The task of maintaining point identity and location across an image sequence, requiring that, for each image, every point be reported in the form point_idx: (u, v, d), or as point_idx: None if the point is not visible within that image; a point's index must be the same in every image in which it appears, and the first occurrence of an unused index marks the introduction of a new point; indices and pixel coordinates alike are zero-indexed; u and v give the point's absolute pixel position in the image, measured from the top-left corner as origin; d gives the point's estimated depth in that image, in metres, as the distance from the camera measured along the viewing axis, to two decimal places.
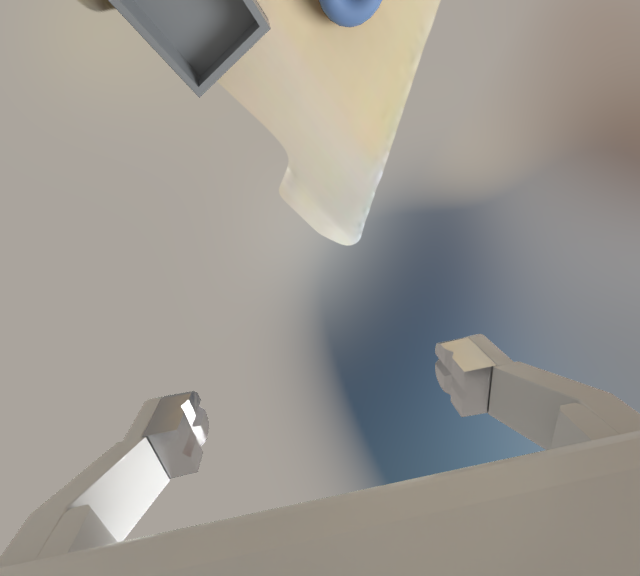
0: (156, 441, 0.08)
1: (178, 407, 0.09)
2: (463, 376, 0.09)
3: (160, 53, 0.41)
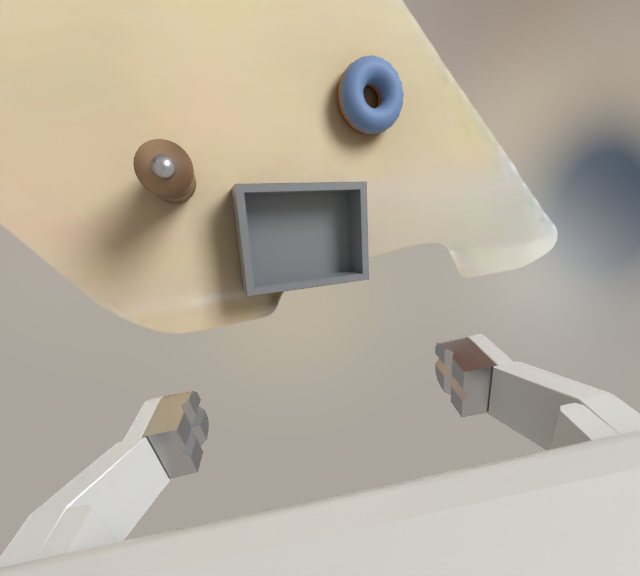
0: (156, 441, 0.08)
1: (178, 407, 0.09)
2: (463, 376, 0.09)
3: (328, 283, 0.43)
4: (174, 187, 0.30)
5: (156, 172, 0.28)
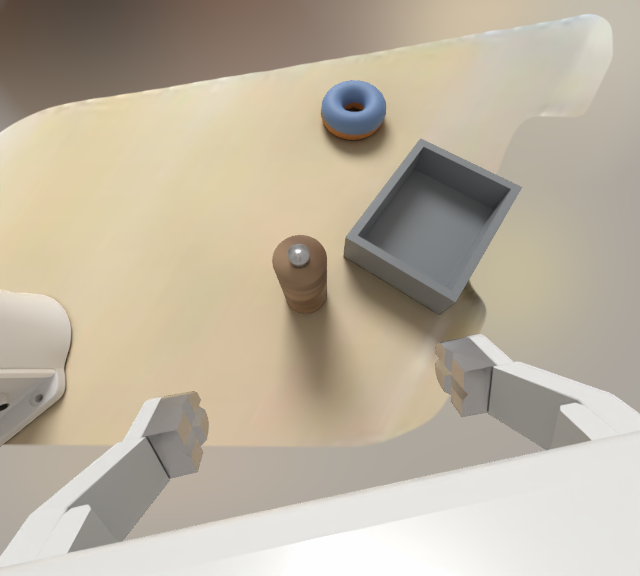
0: (156, 441, 0.08)
1: (178, 407, 0.09)
2: (463, 376, 0.09)
3: (497, 224, 0.36)
4: (318, 264, 0.29)
5: (299, 261, 0.28)
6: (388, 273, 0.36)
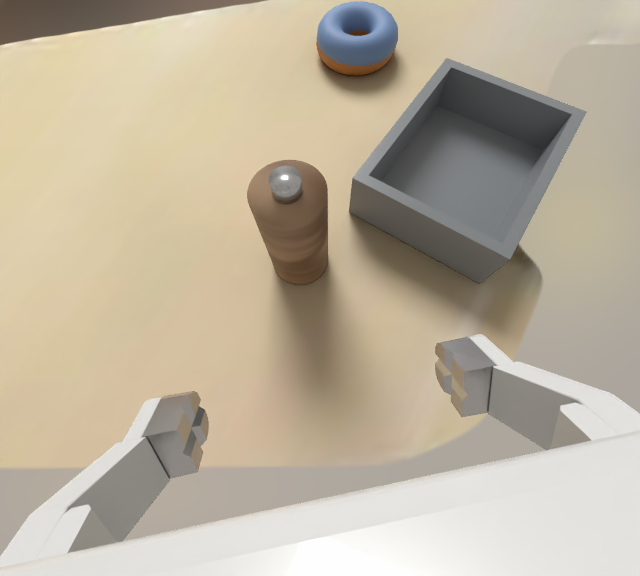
0: (156, 441, 0.08)
1: (178, 407, 0.09)
2: (463, 376, 0.09)
3: (559, 157, 0.26)
4: (315, 197, 0.19)
5: (286, 190, 0.18)
6: (410, 227, 0.27)
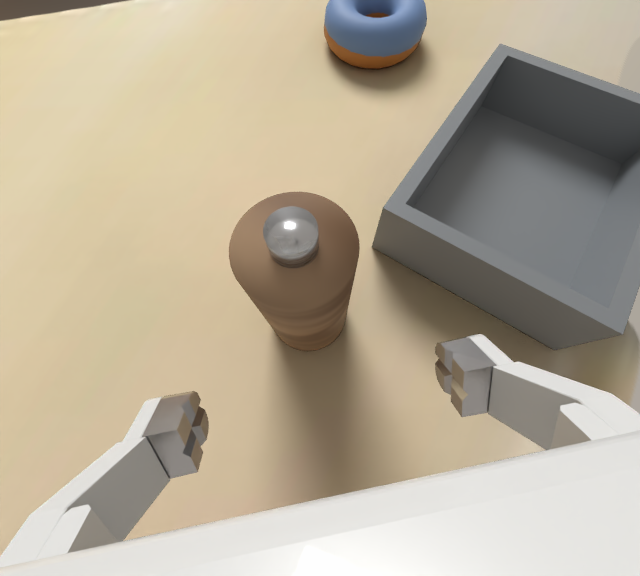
0: (156, 441, 0.08)
1: (178, 407, 0.09)
2: (463, 376, 0.09)
3: None
4: (340, 256, 0.12)
5: (293, 250, 0.11)
6: (462, 275, 0.19)
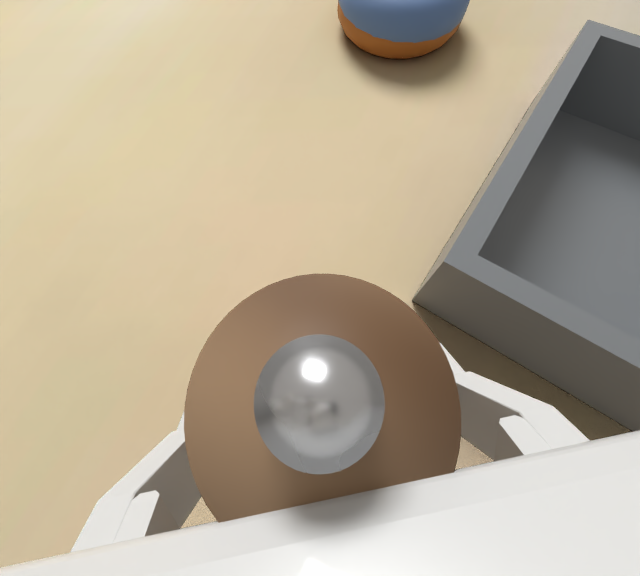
0: None
1: None
2: None
3: None
4: (422, 429, 0.06)
5: (327, 462, 0.04)
6: (558, 358, 0.13)
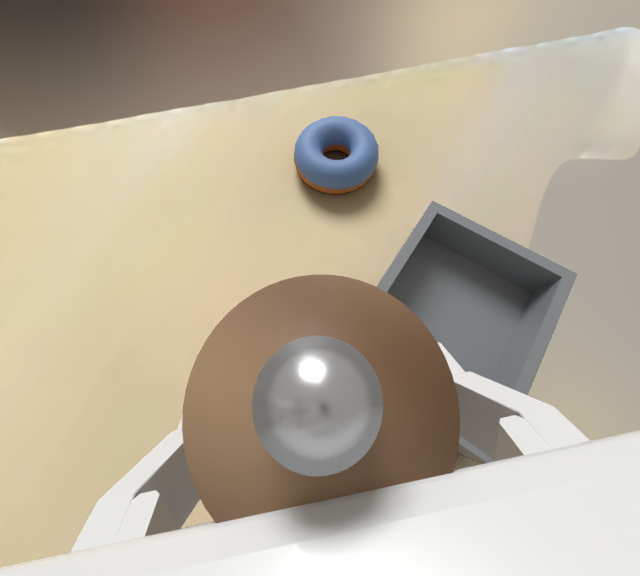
0: None
1: None
2: None
3: (548, 333, 0.25)
4: (421, 430, 0.06)
5: (325, 464, 0.04)
6: None
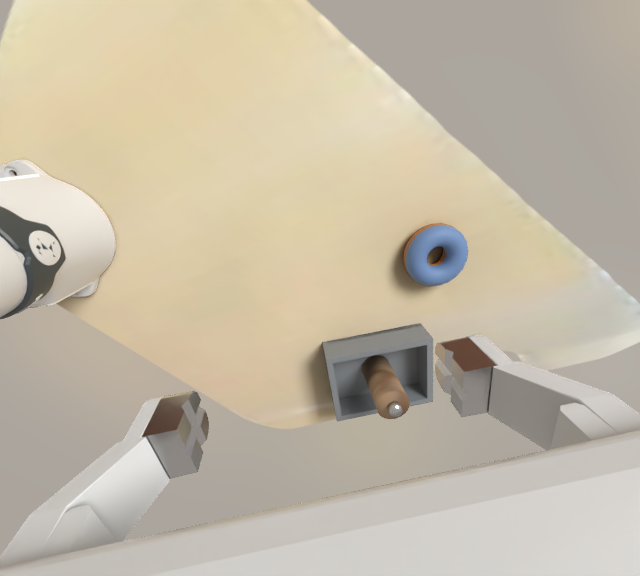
0: (156, 441, 0.08)
1: (178, 407, 0.09)
2: (463, 376, 0.09)
3: None
4: None
5: (392, 415, 0.46)
6: (329, 379, 0.54)
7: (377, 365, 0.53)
